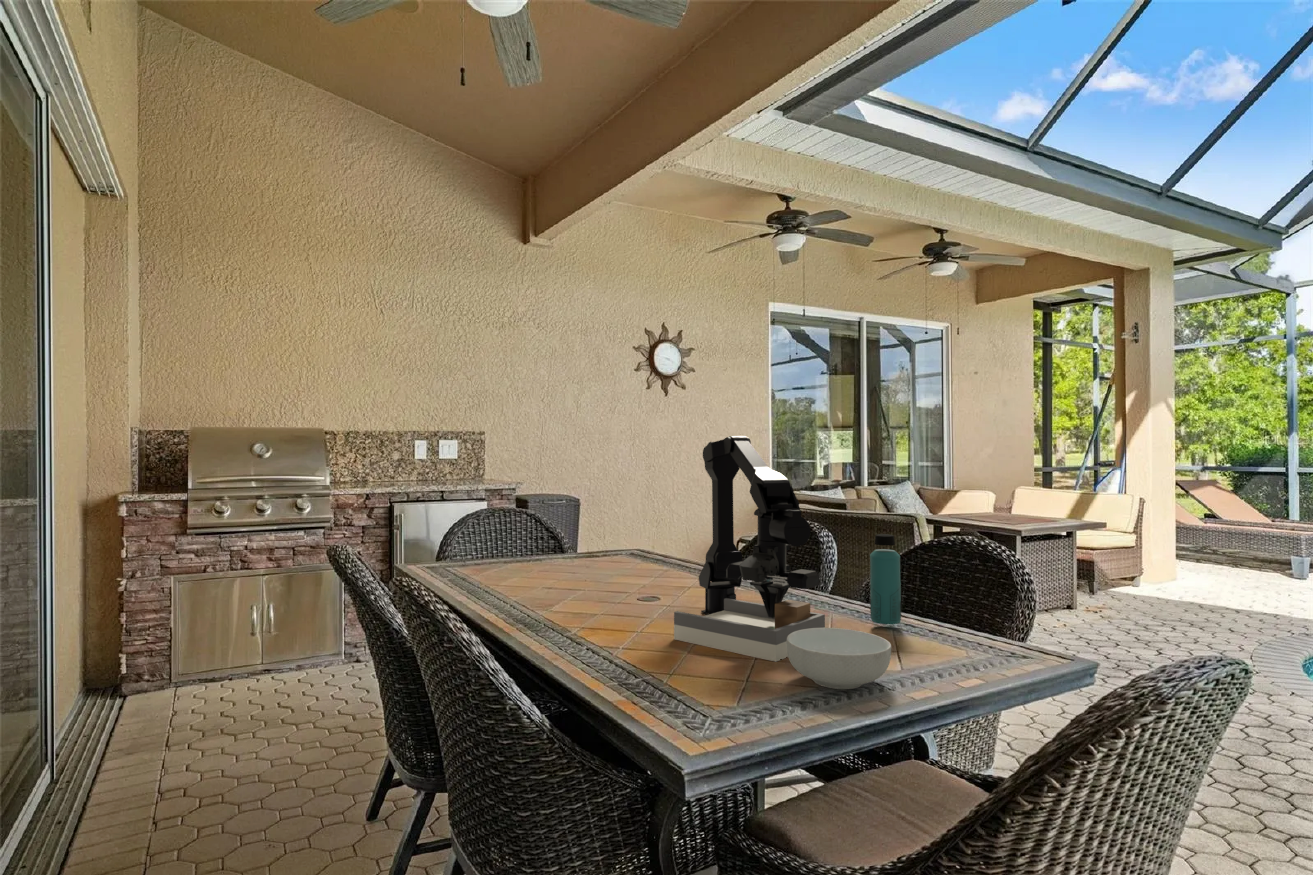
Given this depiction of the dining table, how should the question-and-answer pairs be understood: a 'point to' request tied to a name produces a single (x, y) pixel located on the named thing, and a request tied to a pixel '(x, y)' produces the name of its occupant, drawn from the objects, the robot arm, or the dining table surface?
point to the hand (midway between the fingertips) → (771, 617)
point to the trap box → (741, 630)
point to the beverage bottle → (885, 583)
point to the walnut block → (790, 612)
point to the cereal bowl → (838, 656)
